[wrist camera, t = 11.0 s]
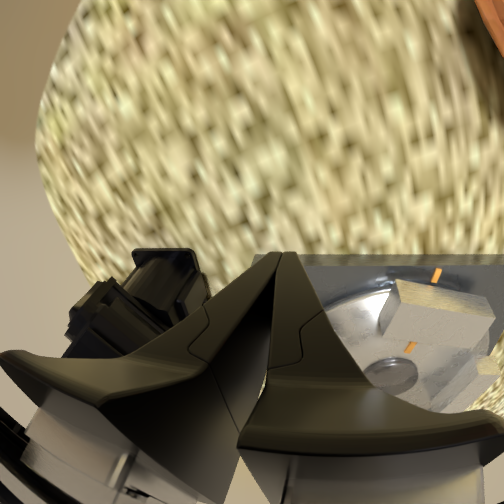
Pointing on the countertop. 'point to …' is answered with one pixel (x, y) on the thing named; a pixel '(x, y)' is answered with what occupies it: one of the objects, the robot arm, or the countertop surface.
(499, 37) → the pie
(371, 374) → the slotted metal disc
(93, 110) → the countertop surface
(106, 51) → the countertop surface
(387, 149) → the countertop surface
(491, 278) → the base plate
